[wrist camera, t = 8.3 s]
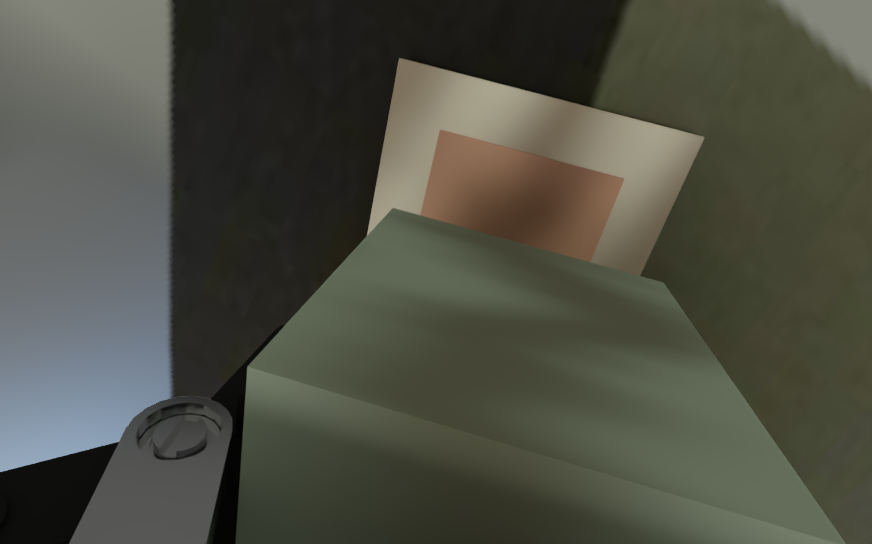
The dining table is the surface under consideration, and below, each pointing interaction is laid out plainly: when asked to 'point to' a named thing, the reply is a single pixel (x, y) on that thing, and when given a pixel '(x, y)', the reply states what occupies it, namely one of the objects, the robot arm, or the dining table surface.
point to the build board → (529, 167)
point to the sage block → (503, 409)
